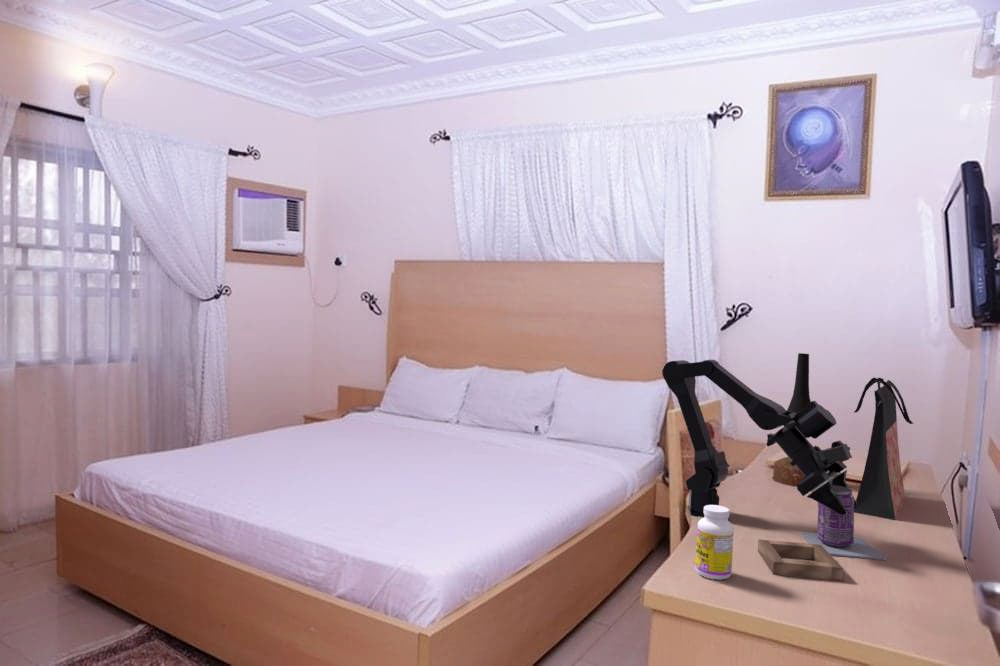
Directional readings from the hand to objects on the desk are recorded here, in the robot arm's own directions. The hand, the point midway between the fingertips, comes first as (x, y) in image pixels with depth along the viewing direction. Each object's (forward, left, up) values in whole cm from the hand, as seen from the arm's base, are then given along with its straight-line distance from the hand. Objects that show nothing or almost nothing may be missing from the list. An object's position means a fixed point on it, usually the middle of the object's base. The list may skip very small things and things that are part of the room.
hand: (850, 509), depth 144 cm
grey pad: (-1, +1, -8) cm, 9 cm away
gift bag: (+20, +37, -9) cm, 43 cm away
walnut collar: (-14, -13, -8) cm, 21 cm away
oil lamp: (+6, +59, -9) cm, 60 cm away
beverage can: (-2, +1, -8) cm, 8 cm away
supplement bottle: (-32, -22, -9) cm, 40 cm away
